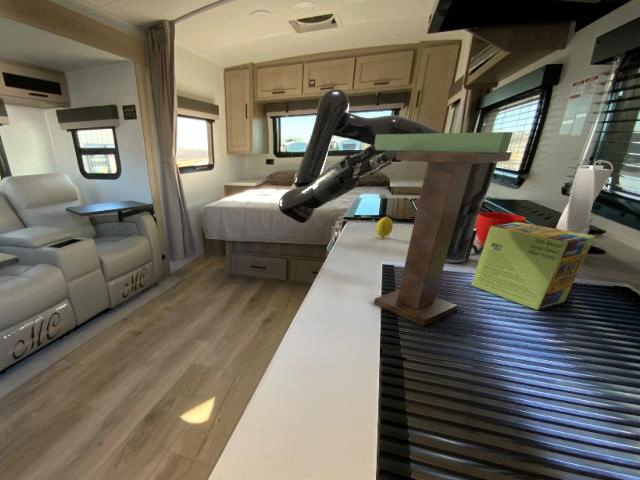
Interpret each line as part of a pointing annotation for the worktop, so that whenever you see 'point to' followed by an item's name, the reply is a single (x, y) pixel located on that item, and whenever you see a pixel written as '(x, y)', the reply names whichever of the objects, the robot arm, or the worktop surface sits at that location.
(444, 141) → the sage bar
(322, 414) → the worktop surface
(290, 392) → the worktop surface
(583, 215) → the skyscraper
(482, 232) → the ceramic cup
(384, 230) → the lemon
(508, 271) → the protein box
